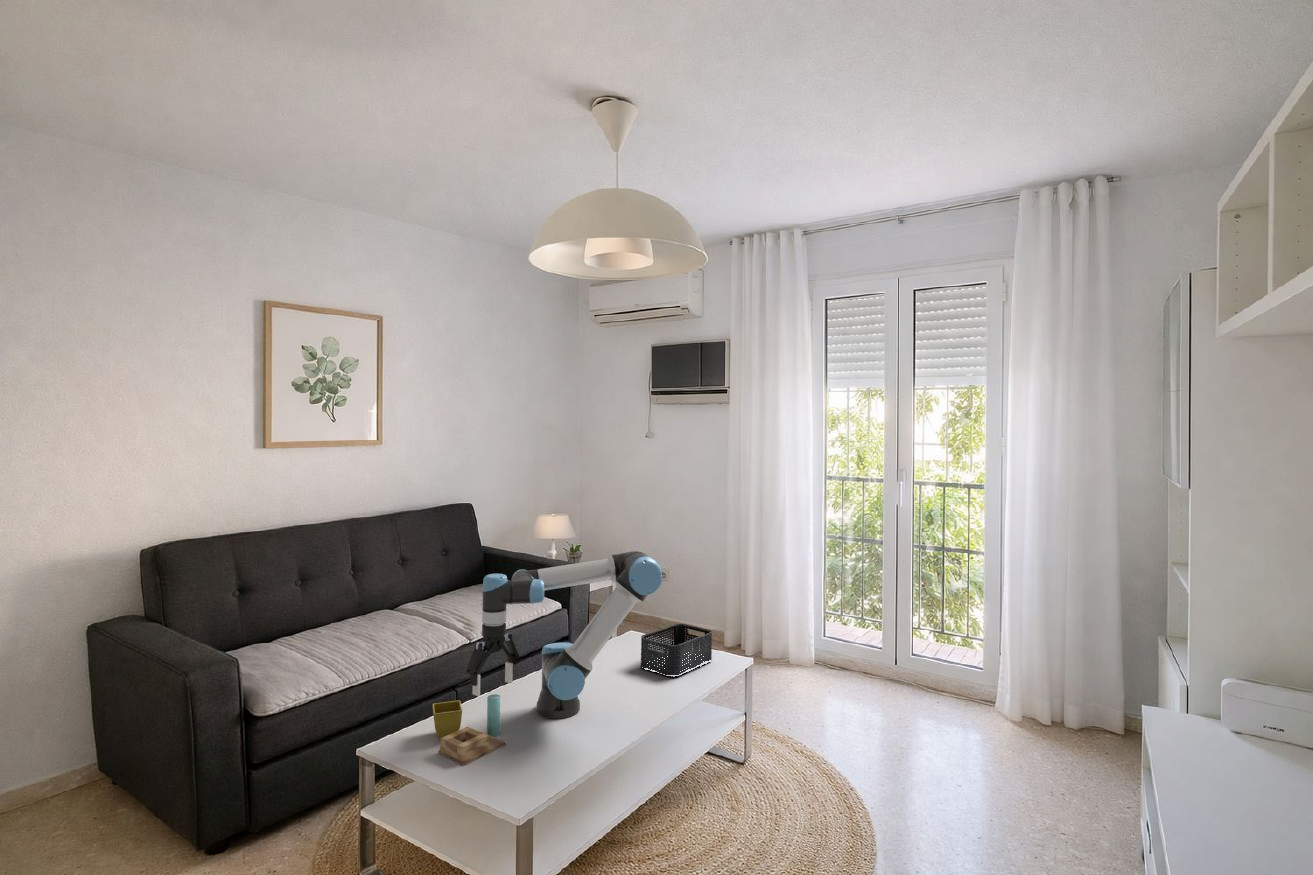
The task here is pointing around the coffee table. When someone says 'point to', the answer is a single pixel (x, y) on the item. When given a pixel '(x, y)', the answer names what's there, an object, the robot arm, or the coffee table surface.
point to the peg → (493, 715)
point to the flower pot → (447, 717)
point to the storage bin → (675, 649)
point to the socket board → (468, 745)
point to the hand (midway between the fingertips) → (492, 688)
